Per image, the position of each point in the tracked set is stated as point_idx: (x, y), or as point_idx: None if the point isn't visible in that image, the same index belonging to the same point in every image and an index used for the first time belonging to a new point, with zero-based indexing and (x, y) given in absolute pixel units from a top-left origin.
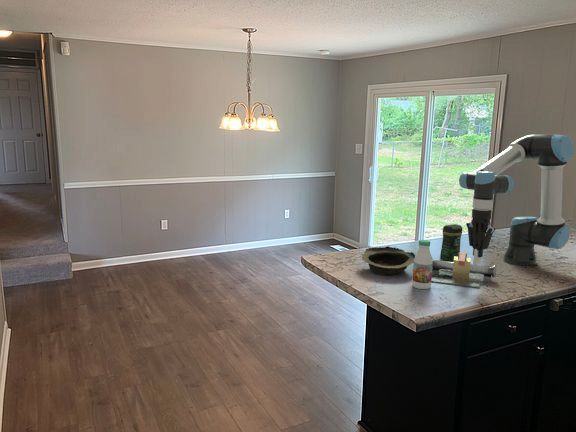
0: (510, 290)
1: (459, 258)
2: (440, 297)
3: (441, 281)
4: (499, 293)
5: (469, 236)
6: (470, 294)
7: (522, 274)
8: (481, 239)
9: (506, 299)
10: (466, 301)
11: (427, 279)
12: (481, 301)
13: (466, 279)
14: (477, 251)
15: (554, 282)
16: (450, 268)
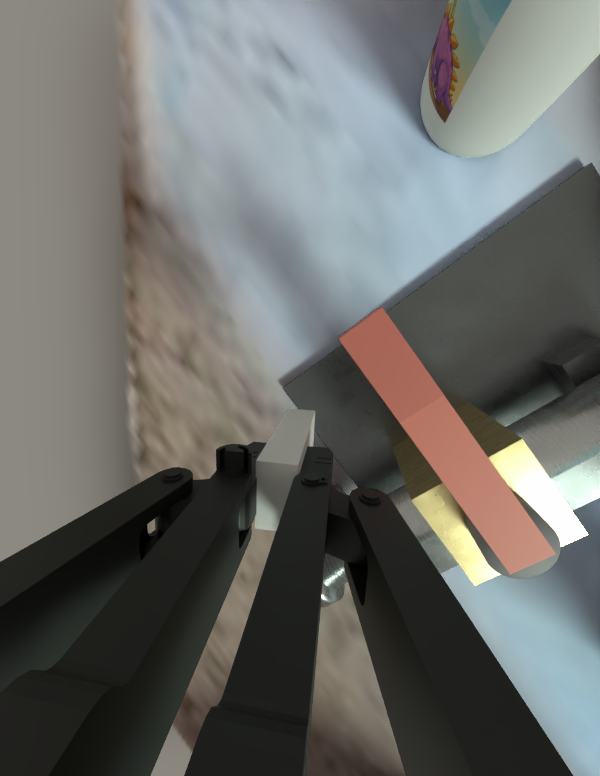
0: None
1: (426, 376)
2: (289, 67)
3: (453, 278)
4: (201, 407)
5: (432, 603)
6: (248, 272)
7: (315, 695)
8: (144, 571)
9: (139, 366)
10: (190, 164)
11: (439, 30)
12: (162, 238)
13: (394, 431)
14: (262, 456)
15: (198, 689)
16: (513, 423)
